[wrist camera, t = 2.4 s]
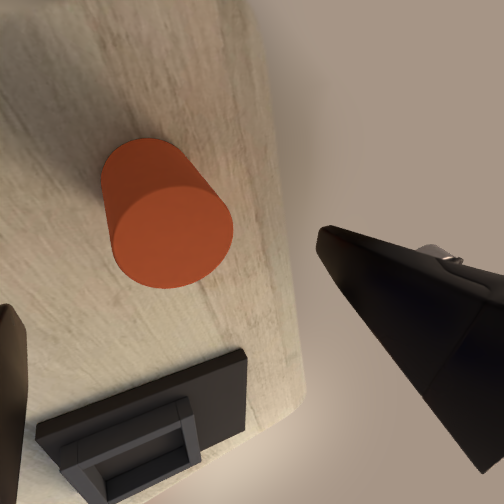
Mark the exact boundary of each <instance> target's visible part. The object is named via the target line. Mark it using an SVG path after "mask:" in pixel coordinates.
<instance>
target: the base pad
mask: <svg viewBox="0 0 504 504" xmlns="http://www.w3.org/2000/svg"><path fill="white" fill-rule="evenodd" d="M247 359H248V358H247V356H246V354H245V352H244V350H243V349H240V350H237V351H235V352H232V353H229V354H227V355H224V356H221V357H218V358H216V359H213V360H210V361H208V362H205V363H202V364H200V365H197V366H194V367H191V368H189V369H186V370H183V371H181V372H178V373H175V374H173V375H170V376H167V377H164V378H162V379H159V380H156V381H154V382H151V383H148V384H146V385H143V386H140V387H137V388H135V389H132V390H129V391H127V392H124V393H121V394H119V395H116V396H113V397H110V398H108V399H105V400H102V401H100V402H97V403H94V404H92V405H89V406H86V407H84V408H81V409H78V410H75V411H73V412H70V413H67V414H65V415H62V416H59V417H57V418H54V419H51V420H48V421H46V422H43V423H40V424H38V425H37V426H36V436H35V440H36V442H37V443H38V444H39V445H40V446H41V447H42V448H43V450H44V451H45V452H46V453H47V454H48V455H49V456H50V457H51V459H52V460H53V461H54V462H55V463H56V464H57V465H58V466H59V468H60V473H61V474H62V475H63V476H64V477H65V478H66V479H67V481H68V482H69V483H70V484H71V485H72V486H73V487H74V488H75V489H76V490H77V492H78V493H79V494H80V495H81V496H82V497H83V498H84V499H85V500H86V502H87V503H88V504H116V503H118V502H120V501H122V500H124V499H126V498H128V497H130V496H132V495H135V494H137V493H139V492H141V491H143V490H145V489H147V488H149V487H151V486H153V485H155V484H157V483H159V482H161V481H163V480H165V479H167V478H169V477H171V476H173V475H175V474H178V473H180V472H182V471H184V470H186V469H188V468H190V466H191V467H192V466H194V465H196V464H198V463H200V462H201V461H202V460H201V454H200V452H201V451H203V450H205V449H207V448H209V447H211V446H213V445H215V444H217V443H219V442H222V441H224V440H226V439H228V438H230V437H232V436H234V435H236V434H238V433H240V432H243V431H245V415H246V387H247Z"/></svg>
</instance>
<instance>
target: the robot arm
mask: <svg viewBox="0 0 504 504" xmlns="http://www.w3.org/2000/svg"><path fill="white" fill-rule="evenodd" d="M316 252H317V254H318V256H319V258H320V259H321V261H322V262H323V264H324V266H325V267H326V269H327V271H328V272H329V274H330V276H331V277H332V279H333V281H334V282H335V284H336V285H337V286H338V288H339V289H340V291H341V292H342V293H343V295H344V296H345V297H346V299H347V300H348V301H349V303H350V304H351V305H352V306H353V308H354V309H355V310H356V312H357V313H358V314H359V316H360V317H361V318H362V320H363V321H364V322H365V323H366V325H367V326H368V327H369V329H370V330H371V331H372V333H373V334H374V335H375V336H376V338H377V339H378V340H379V342H380V343H381V344H382V346H383V347H384V348H385V350H386V351H387V352H388V353H389V355H391V357H392V359H393V360H394V361H395V362H396V364H397V365H398V366H399V368H400V369H401V370H402V372H403V373H404V374H405V375H406V377H407V378H408V379H409V381H410V382H411V383H412V385H413V386H414V387H415V389H416V390H417V391H418V392H419V394H420V395H421V396H422V398H423V399H424V401H425V402H426V403H427V404H428V406H429V407H430V408H431V410H432V411H433V412H434V414H435V415H436V416H437V418H438V419H439V420H440V421H441V423H442V424H443V425H444V427H445V428H446V429H447V430H448V432H449V433H450V434H451V435H452V437H453V438H454V440H455V441H456V442H457V443H458V445H459V446H460V448H461V449H462V450H463V451H464V453H465V454H466V455H467V457H468V458H469V459H470V461H471V462H472V463H473V464H474V466H475V467H476V468H477V469H478V470H479V471H480V472H481V474H484V473H486V472H487V471H488V470H489V469H491V468H492V467H493V466H495V465H496V464H497V463H499V462H500V461H501V460H503V459H504V275H500V274H496V273H492V272H488V271H484V270H481V269H476V268H473V267H469V266H465V265H462V263H463V259H462V258H460V257H458V258H455V259H453V260H450V261H448V260H445V259H442V258H438V257H434V256H432V255H428V254H425V253H422V252H418V251H415V250H412V249H408V248H405V247H402V246H399V245H395V244H392V243H388V242H385V241H382V240H378V239H375V238H372V237H369V236H365V235H362V234H359V233H355V232H352V231H349V230H346V229H342V228H339V227H336V226H332V225H329V226H325V227H322V228H320V230H319V232H318V238H317V243H316ZM27 398H28V363H27V334H26V329H25V326H24V324H23V323H22V321H21V319H20V318H19V316H18V315H17V313H16V311H15V310H14V308H13V307H12V306H11V305H10V304H2V305H0V504H16V499H17V490H18V481H19V472H20V463H21V453H22V444H23V435H24V426H25V417H26V407H27Z"/></svg>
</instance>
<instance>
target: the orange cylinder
mask: <svg viewBox="0 0 504 504" xmlns="http://www.w3.org/2000/svg"><path fill="white" fill-rule="evenodd" d="M101 187H102V193H103V199H104V205H105V211H106V217H107V223H108V229H109V235H110V241H111V247H112V252H113V256H114V258H115V261H116V263H117V264H118V266H119V268H120V269H121V270H122V271H123V272H124V273H125V274H126V275H127V276H128V277H129V278H131V279H132V280H134V281H136V282H138V283H140V284H142V285H145V286H148V287H153V288H162V289H166V288H177V287H182V286H185V285H189V284H191V283H194V282H196V281H198V280H200V279H202V278H204V277H205V276H207V275H208V274H209V273H211V272H212V271H213V270H214V269H215V268H216V267H217V266H218V265H219V264H220V263H221V262H222V260H223V259H224V257H225V256H226V254H227V252H228V250H229V248H230V245H231V242H232V238H233V222H232V217H231V215H230V212H229V210H228V208H227V207H226V205H225V204H224V202H223V201H222V200H221V199H220V198H219V196H218V195H217V194H216V193H215V191H214V190H213V189H212V188H211V187H210V185H209V184H208V183H207V182H206V181H205V179H204V178H203V177H202V176H201V174H200V173H199V172H198V171H197V170H196V168H195V167H194V166H193V165H192V163H191V162H190V161H189V160H188V159H187V157H186V156H185V155H184V154H183V153H182V152H181V151H180V150H179V149H178V148H176V147H175V146H174V145H172V144H170V143H168V142H165V141H162V140H158V139H152V138H142V139H136V140H133V141H129V142H127V143H125V144H123V145H122V146H120V147H118V148H117V149H116V150H115V151H114V152H113V153H112V154H111V155H110V156H109V158H108V159H107V161H106V162H105V165H104V167H103V170H102V174H101Z"/></svg>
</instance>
